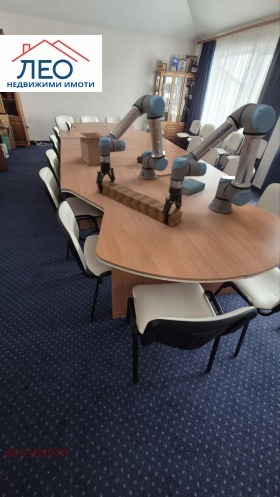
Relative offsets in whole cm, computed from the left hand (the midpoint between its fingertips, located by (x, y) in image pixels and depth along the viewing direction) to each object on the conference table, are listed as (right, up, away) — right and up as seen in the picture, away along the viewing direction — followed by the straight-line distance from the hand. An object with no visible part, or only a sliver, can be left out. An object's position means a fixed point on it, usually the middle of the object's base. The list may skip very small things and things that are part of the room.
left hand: (106, 190), depth 173 cm
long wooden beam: (+23, -14, -16) cm, 31 cm away
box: (-24, +49, +64) cm, 84 cm away
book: (+68, +5, +15) cm, 70 cm away
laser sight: (+34, +49, +70) cm, 92 cm away
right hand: (+46, -27, -32) cm, 62 cm away
